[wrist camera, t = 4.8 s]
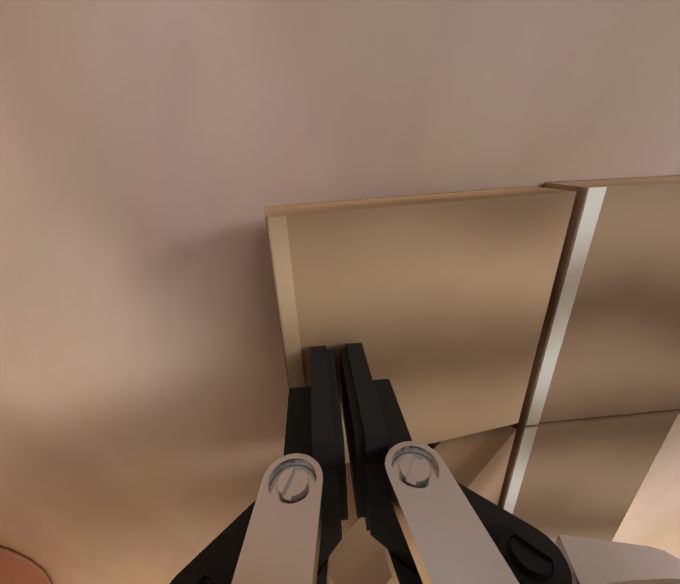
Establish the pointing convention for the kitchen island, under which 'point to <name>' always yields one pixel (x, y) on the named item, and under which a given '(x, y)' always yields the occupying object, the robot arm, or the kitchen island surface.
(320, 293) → the plank
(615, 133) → the kitchen island surface
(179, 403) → the kitchen island surface
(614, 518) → the laid board
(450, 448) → the plank
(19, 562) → the potted plant
